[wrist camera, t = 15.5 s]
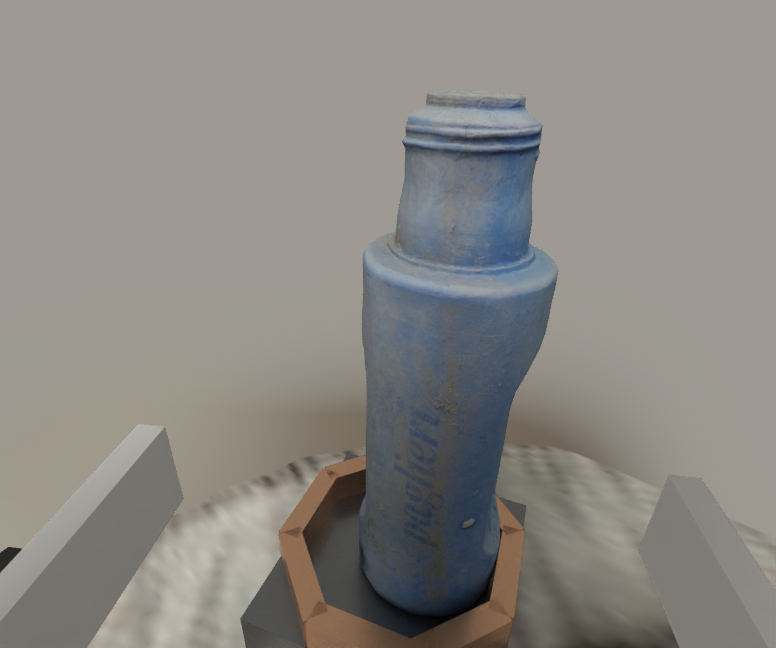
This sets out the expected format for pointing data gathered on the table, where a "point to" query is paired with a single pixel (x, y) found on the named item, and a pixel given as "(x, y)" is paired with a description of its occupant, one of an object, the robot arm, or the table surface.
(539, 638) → the table surface
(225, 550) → the table surface
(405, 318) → the bottle
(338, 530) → the copper and grey block
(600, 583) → the table surface
